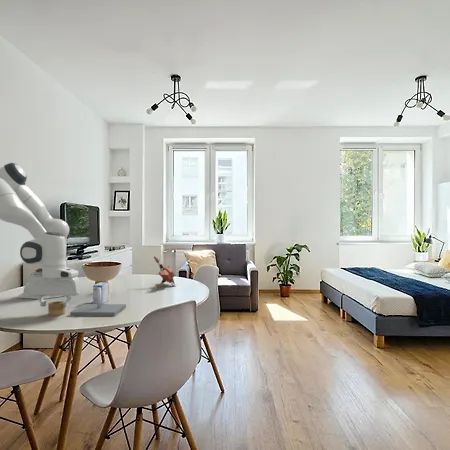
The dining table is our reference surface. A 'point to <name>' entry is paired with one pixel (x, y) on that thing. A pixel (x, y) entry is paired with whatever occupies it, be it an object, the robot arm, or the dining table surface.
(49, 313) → the bead
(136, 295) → the dining table surface
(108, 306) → the stand
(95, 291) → the medicine box
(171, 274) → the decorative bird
